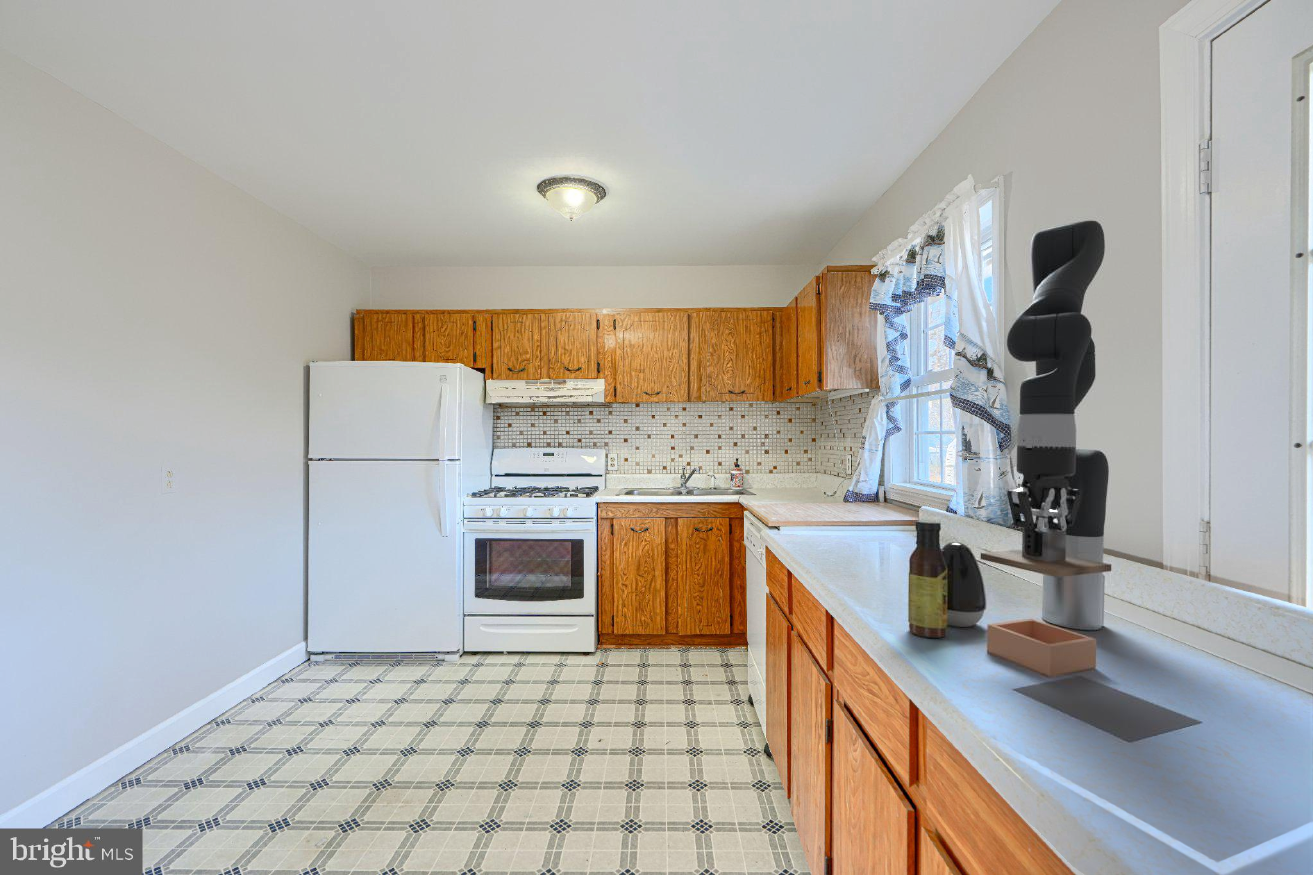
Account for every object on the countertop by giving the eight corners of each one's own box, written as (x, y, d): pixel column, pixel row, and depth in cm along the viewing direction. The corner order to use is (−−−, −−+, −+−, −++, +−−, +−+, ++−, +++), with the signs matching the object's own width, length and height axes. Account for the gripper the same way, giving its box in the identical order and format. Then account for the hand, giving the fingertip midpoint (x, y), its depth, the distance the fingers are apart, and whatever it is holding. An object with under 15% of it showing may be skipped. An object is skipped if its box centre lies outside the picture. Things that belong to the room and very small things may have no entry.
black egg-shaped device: (916, 612, 112) (918, 536, 112) (972, 615, 111) (974, 538, 111) (934, 629, 102) (936, 545, 102) (996, 633, 101) (998, 548, 101)
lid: (1031, 554, 95) (1032, 521, 95) (1111, 571, 84) (1112, 534, 84) (980, 559, 91) (981, 525, 91) (1056, 577, 79) (1057, 538, 79)
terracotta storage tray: (1030, 648, 94) (1030, 618, 94) (1095, 672, 84) (1096, 639, 84) (986, 655, 90) (987, 624, 90) (1049, 681, 81) (1050, 646, 81)
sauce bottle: (951, 641, 96) (954, 525, 96) (912, 637, 97) (915, 523, 97) (940, 628, 103) (942, 519, 103) (903, 625, 104) (906, 518, 104)
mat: (1080, 679, 82) (1080, 675, 82) (1202, 726, 69) (1202, 722, 69) (1012, 693, 77) (1012, 688, 77) (1129, 747, 64) (1129, 741, 64)
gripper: (1052, 444, 93) (1050, 547, 93) (990, 443, 88) (988, 552, 88) (1102, 445, 86) (1099, 557, 86) (1038, 444, 81) (1035, 563, 81)
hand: (1043, 554), depth 87 cm, fingers closed on lid, 4 cm apart
